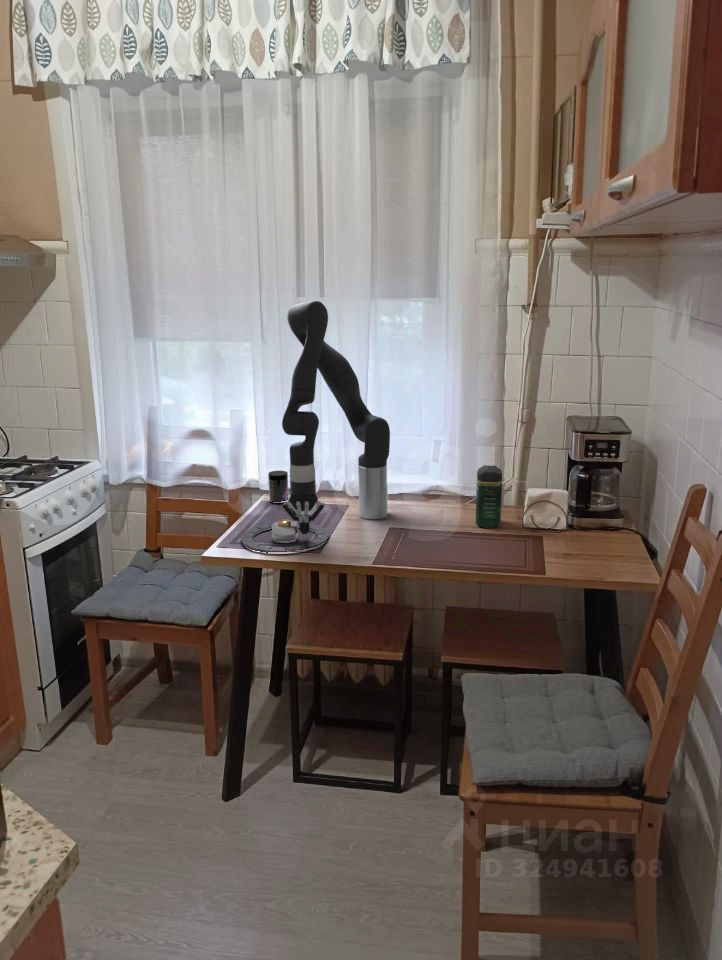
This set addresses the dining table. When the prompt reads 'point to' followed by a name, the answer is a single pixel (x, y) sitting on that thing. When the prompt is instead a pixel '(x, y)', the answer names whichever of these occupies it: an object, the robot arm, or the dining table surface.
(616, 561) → the dining table surface
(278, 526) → the cast cover
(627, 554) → the dining table surface
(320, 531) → the centring ring
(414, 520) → the dining table surface
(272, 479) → the supplement container
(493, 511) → the coffee jar
